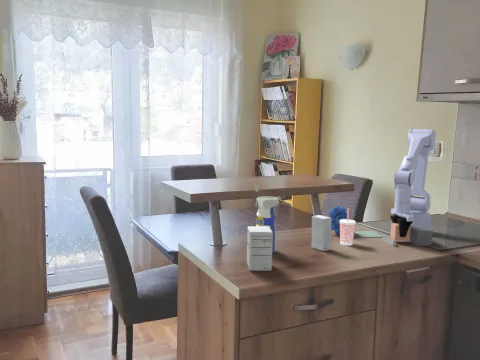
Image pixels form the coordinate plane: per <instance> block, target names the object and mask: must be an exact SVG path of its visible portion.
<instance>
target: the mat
mask: <svg viewBox="0 0 480 360" xmlns="http://www.w3.org/2000/svg"><path fill="white" fill-rule="evenodd" d="M354 234H355V235H356V234H357V236H359V237H360V238H363V239H365V238H370V239H371V238H382V235H381V234H379V233H378V232H376V231H374V230H361V231H360V230H357V231H355V230H354Z"/></svg>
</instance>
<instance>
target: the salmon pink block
mask: <svg viewBox="0 0 480 360" xmlns="http://www.w3.org/2000/svg"><path fill="white" fill-rule="evenodd" d="M390 224H391V225H390V236H389V237H390V238H392V239H393V240H395V241H396V242H400V241H401V242H402V241H408V242H409V241H410V228H411V225H410V227H409V229H408V232H407V235H406V237H400V233H399V224H398V223H392V222H391V223H390Z"/></svg>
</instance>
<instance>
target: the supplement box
mask: <svg viewBox="0 0 480 360" xmlns="http://www.w3.org/2000/svg"><path fill="white" fill-rule="evenodd" d="M246 237H247V238H246V239H247V240H246V241H247V242H246V264H247V266H248V270H249V271H251V272H252V271H253V272H255V271H256V272H257V271H258V272H259V271H262V272H263V271H268V272H269V271H272V269H273V266H272V265H273V262H272V261H273V253H272V243H273V232H272V230H271V229H270V227H269V226H256V225H255V226H254V225H253V226H249V225H248V226H247V235H246Z"/></svg>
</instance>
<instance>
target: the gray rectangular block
mask: <svg viewBox="0 0 480 360" xmlns="http://www.w3.org/2000/svg"><path fill="white" fill-rule="evenodd" d="M433 234H434V232H433V230H432V229H431V230H430V229H428V228H426V227H424V226H422V225H420V224H411V228H410V241H408V242H409V243H410V244H413V245H414V246H416V247H429V246H428V245H433V244H432V242H433Z"/></svg>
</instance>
